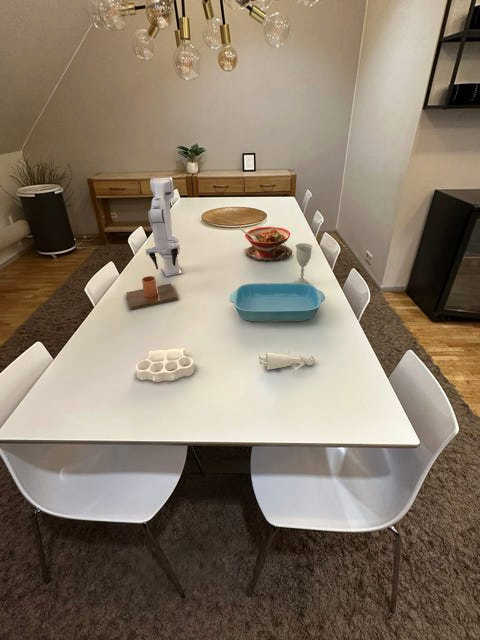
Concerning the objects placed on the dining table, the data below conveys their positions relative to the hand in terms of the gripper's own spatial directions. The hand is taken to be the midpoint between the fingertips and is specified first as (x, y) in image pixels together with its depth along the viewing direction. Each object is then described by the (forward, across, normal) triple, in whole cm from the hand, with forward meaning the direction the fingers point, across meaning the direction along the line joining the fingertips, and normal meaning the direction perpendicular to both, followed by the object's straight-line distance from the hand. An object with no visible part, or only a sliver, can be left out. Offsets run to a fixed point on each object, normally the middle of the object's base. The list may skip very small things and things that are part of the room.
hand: (165, 266), depth 154 cm
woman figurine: (+10, +23, -71) cm, 75 cm away
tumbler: (+8, -9, -7) cm, 14 cm away
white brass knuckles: (+10, -13, -57) cm, 59 cm away
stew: (+10, +56, +14) cm, 59 cm away
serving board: (+10, -9, -7) cm, 15 cm away
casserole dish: (+10, +35, -40) cm, 54 cm away
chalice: (+10, +56, -24) cm, 62 cm away
